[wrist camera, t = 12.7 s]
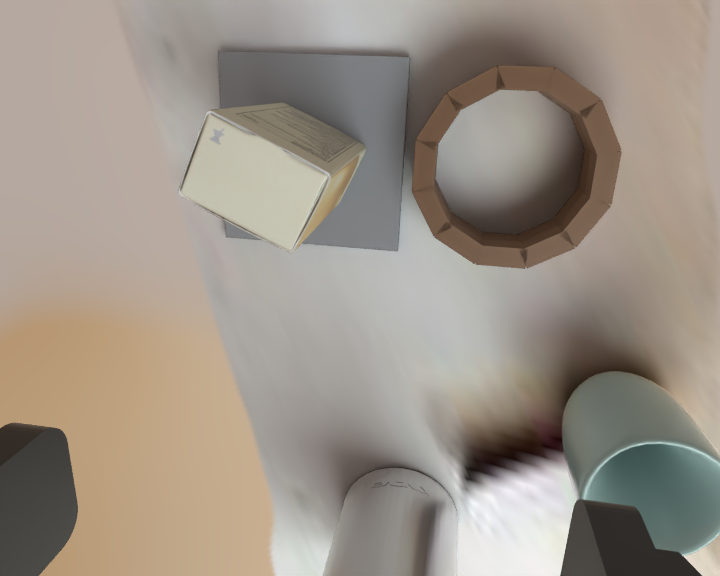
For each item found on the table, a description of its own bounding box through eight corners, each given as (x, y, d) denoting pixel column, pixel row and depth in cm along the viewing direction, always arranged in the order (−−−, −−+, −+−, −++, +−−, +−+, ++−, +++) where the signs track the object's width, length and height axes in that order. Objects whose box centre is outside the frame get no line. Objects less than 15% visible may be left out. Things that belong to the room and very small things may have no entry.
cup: (638, 467, 40) (691, 580, 31) (534, 430, 41) (556, 530, 32) (693, 378, 38) (769, 472, 28) (581, 338, 38) (620, 418, 29)
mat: (398, 248, 38) (397, 251, 38) (229, 235, 40) (225, 237, 39) (410, 57, 34) (409, 57, 34) (221, 51, 36) (218, 50, 35)
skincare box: (257, 161, 37) (167, 192, 26) (283, 99, 36) (200, 103, 24) (343, 208, 37) (291, 259, 26) (373, 148, 36) (332, 174, 24)
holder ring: (585, 258, 36) (598, 274, 33) (411, 244, 38) (407, 258, 35) (619, 72, 32) (637, 69, 29) (424, 65, 34) (421, 62, 31)
